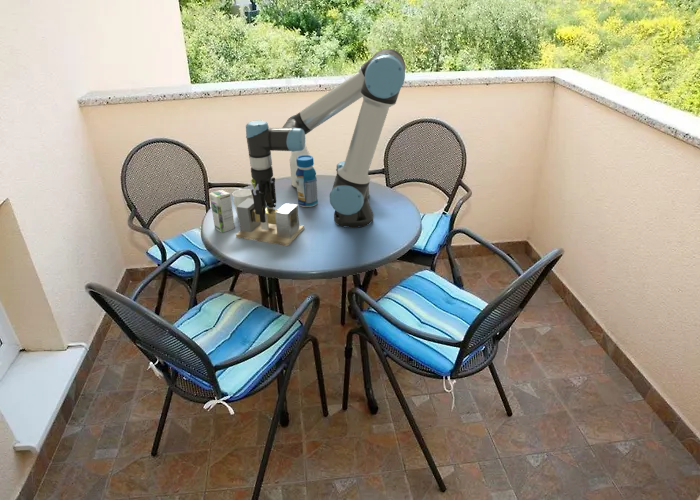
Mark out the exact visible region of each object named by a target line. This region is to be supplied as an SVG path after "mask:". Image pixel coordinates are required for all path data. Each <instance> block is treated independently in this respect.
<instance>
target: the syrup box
mask: <svg viewBox="0 0 700 500" xmlns="http://www.w3.org/2000/svg"><path fill="white" fill-rule="evenodd" d="M209 199H210V200H209V201H210V206H211V212H212V218H213V225H214V229H215V230H217V231H219V232H220V233H222V234H223V233H227V232H228V231H231V230H233V229H235V228H236V227H235V218H234V211H233V205H232V198H231V193H230V192H227V191H225V190H223V189H220V190H216V191H215V190H214V191H212V192H210V193H209Z"/></svg>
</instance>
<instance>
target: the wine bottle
mask: <svg viewBox="0 0 700 500" xmlns="http://www.w3.org/2000/svg"><path fill="white" fill-rule="evenodd" d="M290 152H291V153H290V156H289V167H290V169H289V170H290V181H291V185H292V187H294V188H296V189H297V183H296V178H297V176H296V171H297V169H298V166H297V161H296V159H297V157H298V156H301V155H310V156H311V154H310V152H309V150H308V147H307V145H306V143H305V147H304V149H303V150H302V151H294V152H293V151H290Z"/></svg>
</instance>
